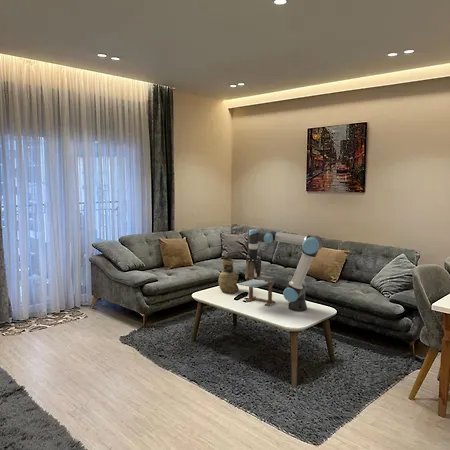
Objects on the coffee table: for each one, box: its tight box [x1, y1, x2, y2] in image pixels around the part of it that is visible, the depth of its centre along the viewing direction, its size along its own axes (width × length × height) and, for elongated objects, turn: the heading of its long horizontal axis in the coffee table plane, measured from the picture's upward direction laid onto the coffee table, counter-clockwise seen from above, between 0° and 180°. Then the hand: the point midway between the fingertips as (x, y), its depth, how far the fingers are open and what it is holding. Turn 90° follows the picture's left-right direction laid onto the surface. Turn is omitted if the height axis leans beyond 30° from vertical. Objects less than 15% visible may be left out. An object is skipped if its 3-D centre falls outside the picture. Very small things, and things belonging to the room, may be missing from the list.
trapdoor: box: [237, 274, 275, 289], centre depth 338 cm, size 16×33×7 cm, turn 145°
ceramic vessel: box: [218, 258, 240, 294], centre depth 374 cm, size 19×21×30 cm
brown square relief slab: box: [244, 259, 262, 281], centre depth 330 cm, size 17×4×15 cm, turn 129°
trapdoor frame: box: [245, 278, 276, 307], centre depth 344 cm, size 22×12×20 cm, turn 55°
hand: (252, 276), depth 331 cm, fingers closed on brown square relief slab, 4 cm apart
